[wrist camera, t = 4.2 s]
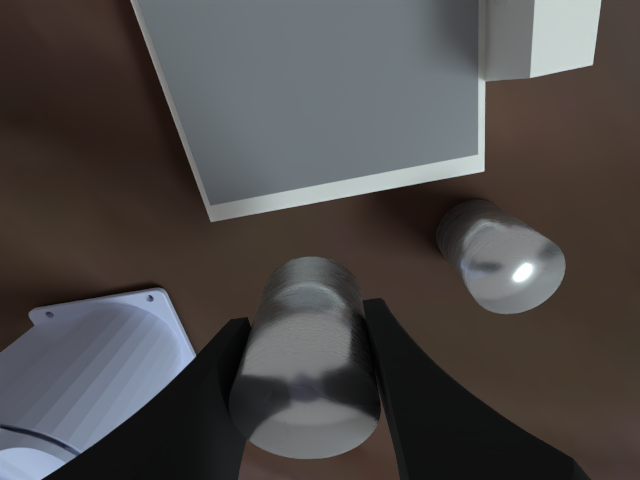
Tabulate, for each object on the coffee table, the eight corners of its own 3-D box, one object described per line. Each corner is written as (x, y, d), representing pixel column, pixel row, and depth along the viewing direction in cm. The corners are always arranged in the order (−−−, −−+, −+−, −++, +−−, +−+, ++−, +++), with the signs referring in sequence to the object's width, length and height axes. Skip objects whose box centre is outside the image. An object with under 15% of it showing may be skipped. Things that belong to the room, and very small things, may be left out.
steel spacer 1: (276, 344, 14) (251, 465, 10) (251, 265, 12) (208, 364, 8) (367, 332, 14) (387, 452, 9) (354, 249, 12) (371, 343, 8)
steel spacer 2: (437, 267, 20) (471, 319, 15) (434, 206, 18) (470, 244, 14) (505, 256, 19) (560, 306, 15) (507, 193, 18) (570, 227, 13)
